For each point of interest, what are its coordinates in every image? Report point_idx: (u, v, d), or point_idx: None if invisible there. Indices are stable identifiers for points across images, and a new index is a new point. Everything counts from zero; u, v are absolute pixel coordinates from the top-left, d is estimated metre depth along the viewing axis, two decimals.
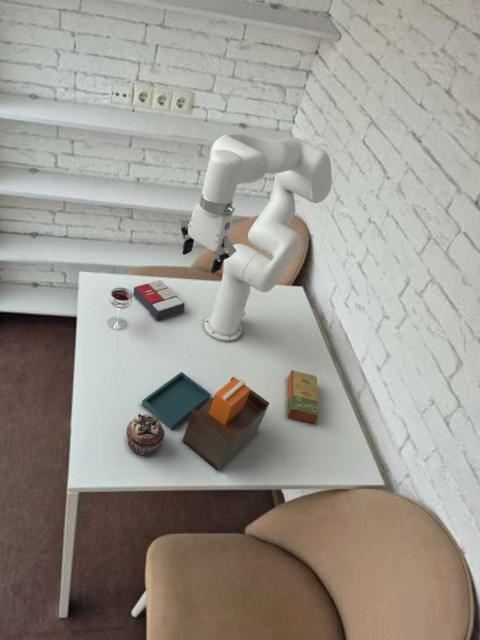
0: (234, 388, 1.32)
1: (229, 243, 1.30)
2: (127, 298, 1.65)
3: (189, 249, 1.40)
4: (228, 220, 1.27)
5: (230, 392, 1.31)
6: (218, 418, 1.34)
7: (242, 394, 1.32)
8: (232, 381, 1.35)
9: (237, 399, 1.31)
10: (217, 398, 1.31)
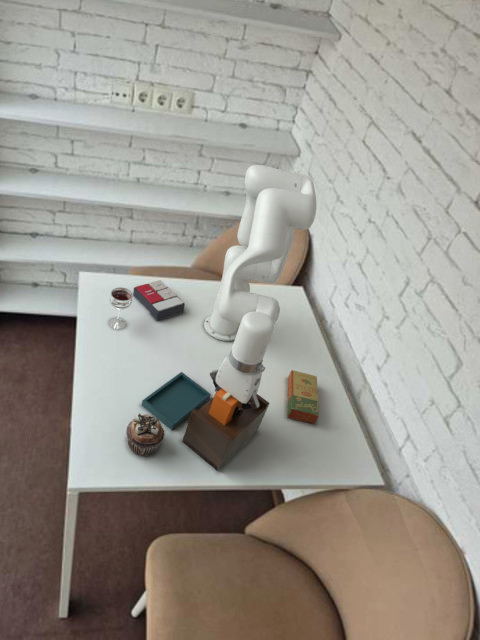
0: None
1: (255, 398, 1.29)
2: (127, 298, 1.65)
3: None
4: (258, 376, 1.25)
5: None
6: (218, 418, 1.34)
7: None
8: None
9: None
10: (217, 398, 1.31)
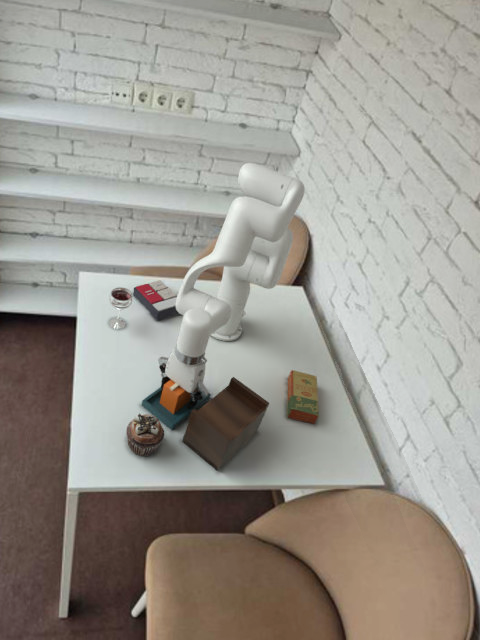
0: None
1: (203, 387, 1.39)
2: (127, 298, 1.65)
3: None
4: (201, 368, 1.37)
5: None
6: (168, 407, 1.46)
7: None
8: None
9: (184, 390, 1.43)
10: (166, 389, 1.43)
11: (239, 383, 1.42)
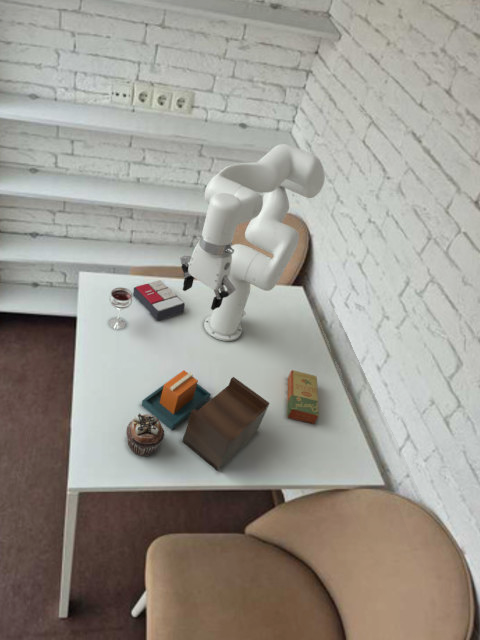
0: (182, 380, 1.44)
1: (229, 282, 1.32)
2: (127, 298, 1.65)
3: (189, 285, 1.42)
4: (228, 260, 1.30)
5: (177, 383, 1.43)
6: (168, 407, 1.46)
7: (189, 385, 1.44)
8: (181, 373, 1.47)
9: (184, 390, 1.43)
10: (166, 389, 1.43)
11: (239, 383, 1.42)
